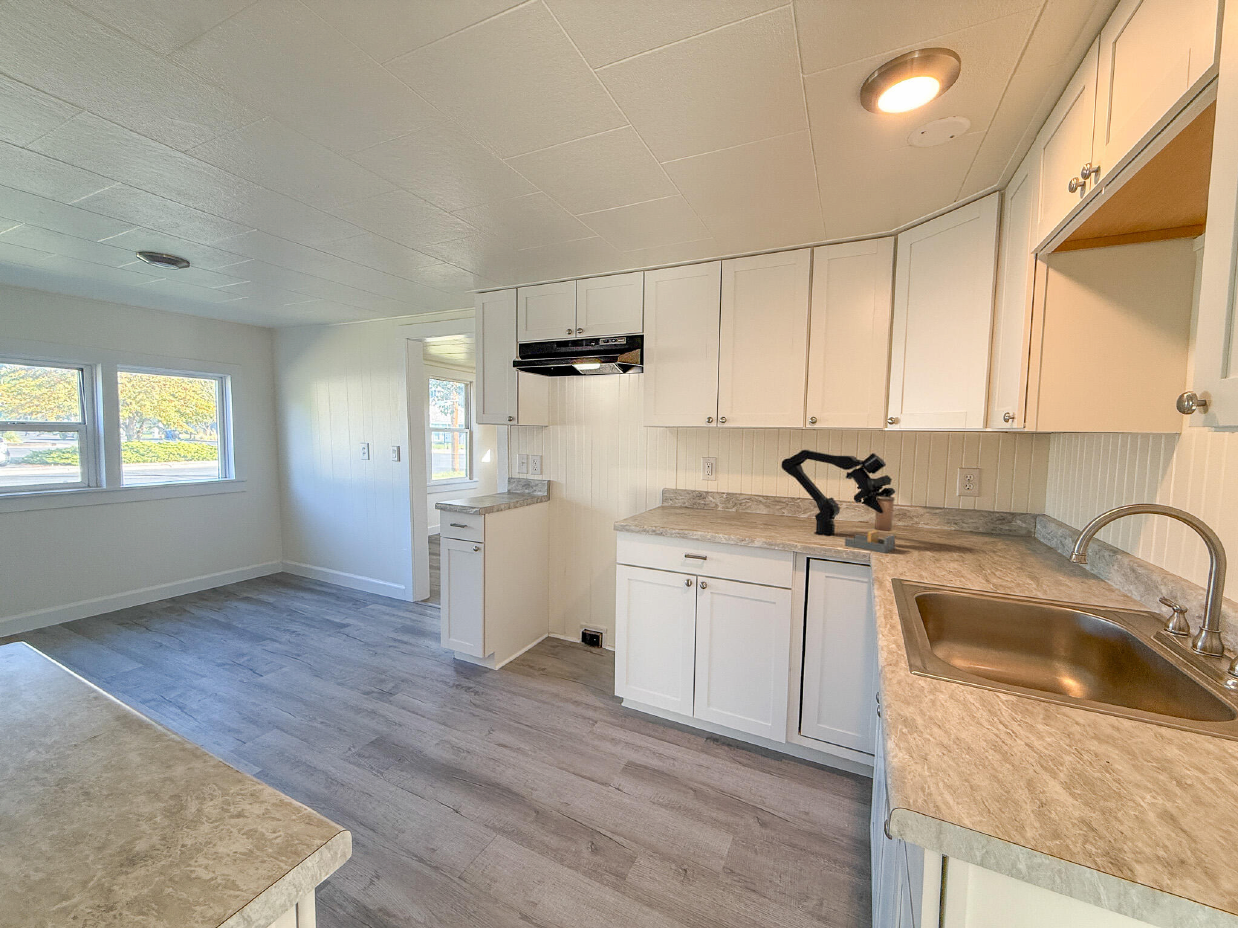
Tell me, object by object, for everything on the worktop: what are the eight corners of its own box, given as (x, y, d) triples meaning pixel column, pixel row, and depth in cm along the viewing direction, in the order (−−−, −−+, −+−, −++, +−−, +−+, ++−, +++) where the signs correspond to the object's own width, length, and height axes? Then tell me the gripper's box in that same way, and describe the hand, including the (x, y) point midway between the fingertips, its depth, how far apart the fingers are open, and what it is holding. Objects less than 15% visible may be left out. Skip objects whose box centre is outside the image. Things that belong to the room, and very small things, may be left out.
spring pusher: (867, 547, 185) (867, 532, 184) (874, 544, 190) (875, 530, 190) (870, 547, 184) (871, 533, 184) (878, 544, 189) (878, 530, 189)
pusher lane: (844, 545, 190) (845, 531, 189) (855, 542, 197) (855, 528, 196) (885, 553, 179) (886, 538, 179) (894, 548, 186) (895, 534, 186)
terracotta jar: (871, 529, 193) (873, 496, 192) (877, 527, 197) (879, 495, 196) (888, 532, 188) (891, 498, 187) (894, 529, 192) (897, 497, 191)
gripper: (862, 468, 190) (887, 501, 181) (892, 468, 198) (917, 499, 190) (843, 486, 197) (866, 518, 189) (873, 484, 206) (896, 515, 197)
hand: (887, 512), depth 191 cm, fingers closed on terracotta jar, 6 cm apart
